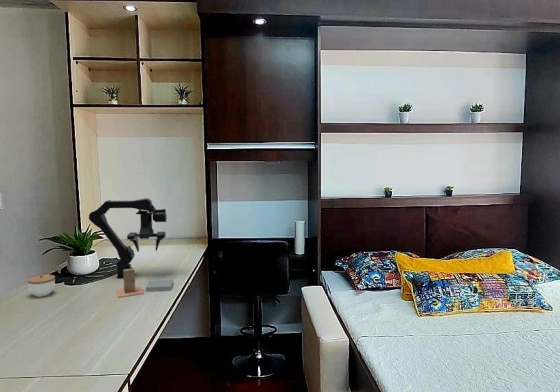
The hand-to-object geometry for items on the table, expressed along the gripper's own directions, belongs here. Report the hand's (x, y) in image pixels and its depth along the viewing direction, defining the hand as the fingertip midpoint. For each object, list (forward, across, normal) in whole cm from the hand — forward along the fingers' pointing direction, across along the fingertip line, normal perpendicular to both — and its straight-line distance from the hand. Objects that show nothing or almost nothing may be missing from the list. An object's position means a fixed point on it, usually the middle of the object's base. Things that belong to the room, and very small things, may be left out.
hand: (147, 251), depth 211 cm
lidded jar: (+13, -43, -23) cm, 51 cm away
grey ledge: (+13, +9, -21) cm, 26 cm away
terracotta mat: (+13, -4, -26) cm, 29 cm away
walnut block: (+12, -4, -26) cm, 29 cm away
